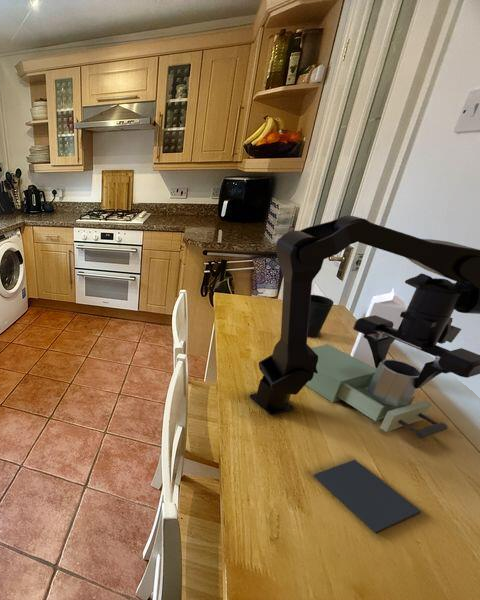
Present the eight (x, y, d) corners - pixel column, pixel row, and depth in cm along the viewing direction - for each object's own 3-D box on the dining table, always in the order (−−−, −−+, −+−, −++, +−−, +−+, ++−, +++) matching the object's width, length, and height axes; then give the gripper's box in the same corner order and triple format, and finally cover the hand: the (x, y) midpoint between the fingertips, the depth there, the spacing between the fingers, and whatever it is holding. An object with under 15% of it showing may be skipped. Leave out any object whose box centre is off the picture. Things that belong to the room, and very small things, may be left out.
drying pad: (375, 533, 48) (376, 531, 48) (313, 476, 57) (314, 474, 56) (419, 513, 51) (421, 511, 50) (353, 461, 59) (354, 459, 59)
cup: (326, 340, 99) (339, 305, 94) (299, 337, 100) (310, 303, 96) (315, 328, 106) (326, 295, 101) (290, 326, 107) (299, 293, 102)
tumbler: (395, 410, 65) (410, 380, 62) (360, 389, 70) (372, 361, 67) (416, 403, 66) (432, 374, 63) (380, 384, 72) (393, 356, 69)
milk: (376, 364, 87) (410, 290, 78) (377, 375, 83) (412, 297, 74) (348, 356, 91) (377, 284, 82) (348, 366, 86) (378, 291, 78)
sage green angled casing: (371, 391, 77) (380, 370, 74) (332, 402, 74) (341, 381, 71) (321, 362, 88) (327, 344, 86) (285, 371, 85) (291, 352, 82)
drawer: (449, 434, 64) (459, 417, 62) (411, 448, 61) (420, 431, 59) (364, 385, 78) (371, 371, 76) (330, 395, 74) (336, 380, 73)
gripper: (529, 326, 54) (483, 398, 60) (400, 288, 70) (374, 348, 77) (489, 336, 51) (445, 411, 57) (364, 294, 67) (340, 356, 74)
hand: (396, 377), depth 66 cm, fingers closed on tumbler, 7 cm apart
